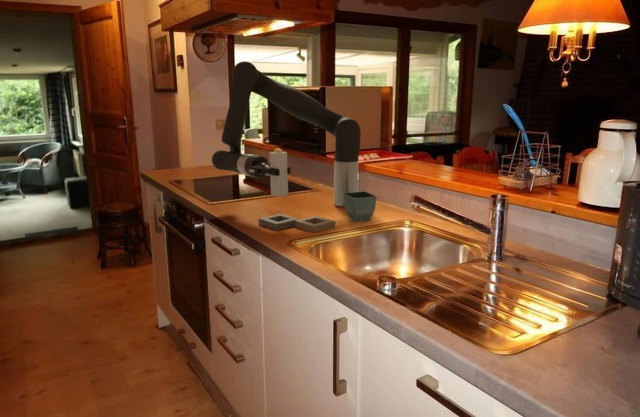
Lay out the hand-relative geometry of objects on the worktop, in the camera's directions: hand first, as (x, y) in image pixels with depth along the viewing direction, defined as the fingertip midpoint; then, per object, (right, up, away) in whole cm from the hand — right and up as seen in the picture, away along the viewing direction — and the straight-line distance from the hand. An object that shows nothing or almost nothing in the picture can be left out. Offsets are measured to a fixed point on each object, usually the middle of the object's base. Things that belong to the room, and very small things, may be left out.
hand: (284, 171), depth 155 cm
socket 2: (+10, -18, +4) cm, 21 cm away
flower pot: (+25, -16, +12) cm, 32 cm away
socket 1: (-2, -17, +6) cm, 18 cm away
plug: (-2, -7, +4) cm, 8 cm away
